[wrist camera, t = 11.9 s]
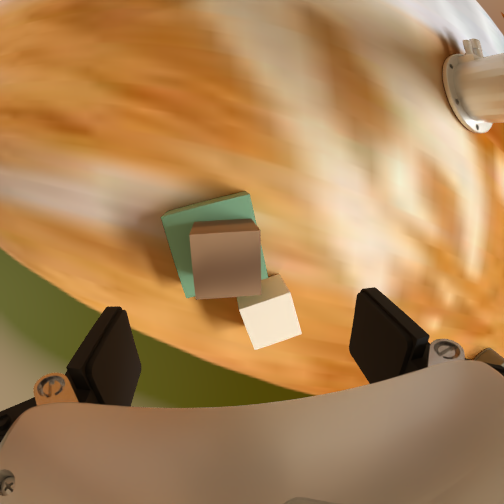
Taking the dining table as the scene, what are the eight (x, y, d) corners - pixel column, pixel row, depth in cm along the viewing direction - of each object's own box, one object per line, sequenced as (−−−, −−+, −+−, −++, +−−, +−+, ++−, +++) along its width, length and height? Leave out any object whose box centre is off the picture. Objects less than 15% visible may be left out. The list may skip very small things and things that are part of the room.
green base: (168, 210, 28) (160, 217, 24) (245, 190, 28) (249, 194, 24) (189, 282, 30) (186, 298, 26) (261, 264, 30) (268, 278, 27)
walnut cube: (194, 221, 24) (189, 234, 20) (251, 218, 25) (260, 230, 20) (198, 275, 26) (195, 299, 21) (252, 272, 26) (261, 294, 22)
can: (474, 351, 42) (493, 367, 35) (498, 343, 44) (516, 356, 37) (451, 394, 45) (467, 411, 39) (478, 383, 47) (492, 397, 40)
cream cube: (235, 288, 31) (238, 309, 26) (278, 273, 31) (290, 292, 26) (249, 325, 32) (254, 350, 27) (289, 311, 32) (301, 333, 28)
